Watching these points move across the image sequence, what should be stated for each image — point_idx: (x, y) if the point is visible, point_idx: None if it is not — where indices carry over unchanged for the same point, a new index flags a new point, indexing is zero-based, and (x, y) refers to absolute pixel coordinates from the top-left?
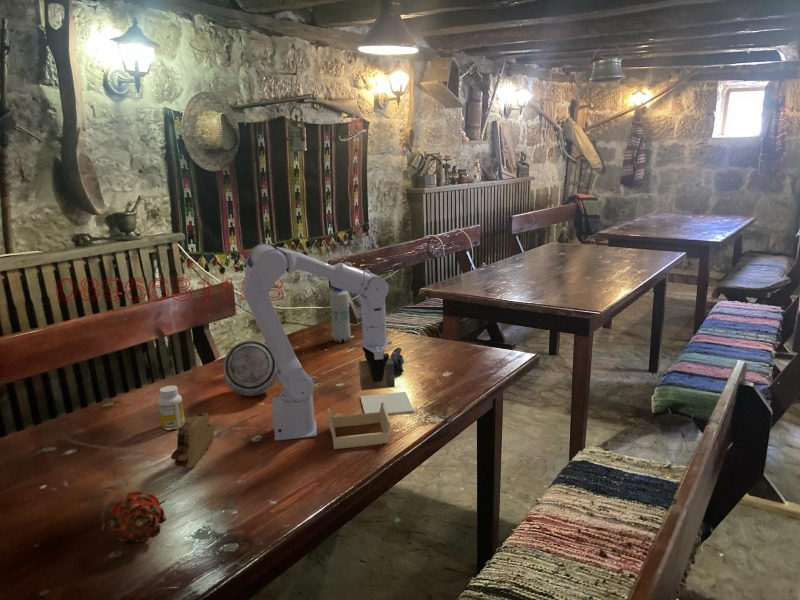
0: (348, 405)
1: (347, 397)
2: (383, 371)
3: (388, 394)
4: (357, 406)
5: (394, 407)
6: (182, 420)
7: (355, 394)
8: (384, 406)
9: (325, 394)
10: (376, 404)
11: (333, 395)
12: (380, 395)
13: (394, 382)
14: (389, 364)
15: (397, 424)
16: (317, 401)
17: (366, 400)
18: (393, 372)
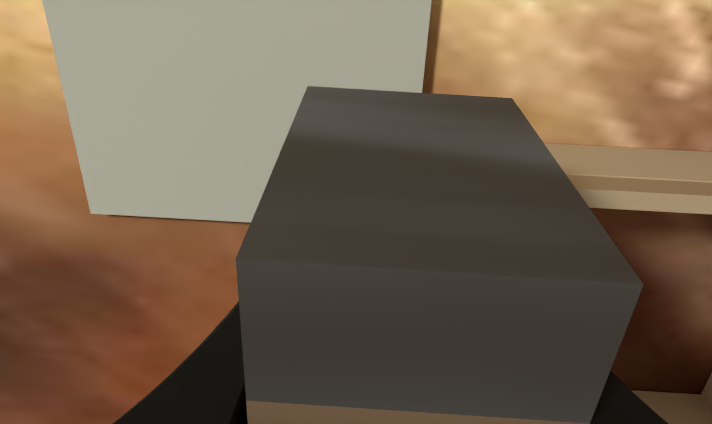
0: (208, 284)
1: (83, 274)
2: (621, 385)
3: (67, 8)
4: (232, 242)
5: (339, 14)
6: None
7: (34, 225)
8: (637, 196)
9: (35, 367)
10: (253, 136)
11: (50, 335)
12: (84, 76)
13: (525, 120)
14: (607, 356)
15: (605, 46)
16: (131, 406)
17: (170, 187)
18: (571, 196)
